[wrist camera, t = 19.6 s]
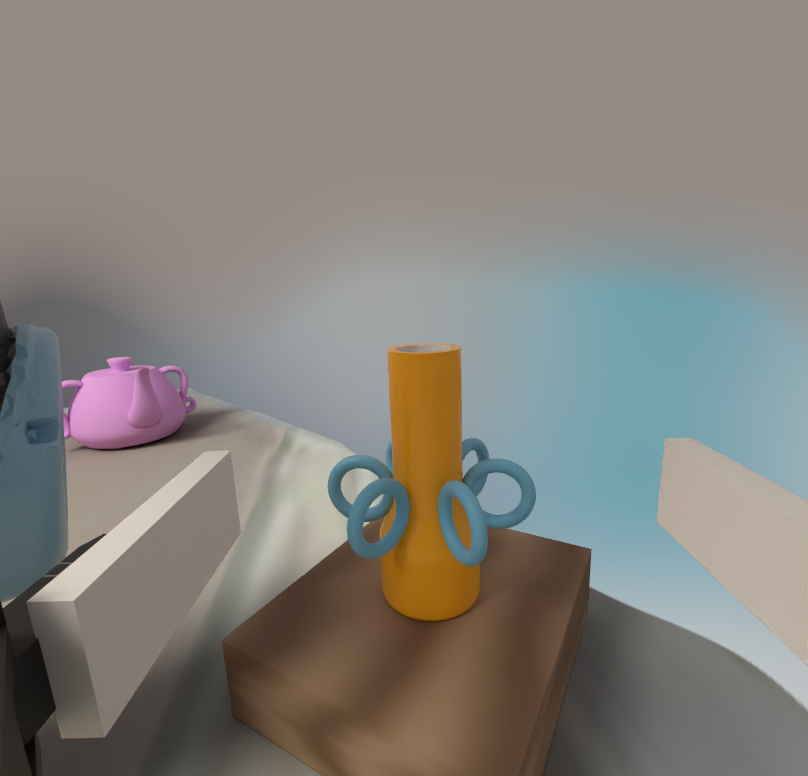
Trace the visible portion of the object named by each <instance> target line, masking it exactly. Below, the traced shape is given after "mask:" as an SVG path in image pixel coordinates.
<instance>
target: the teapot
mask: <svg viewBox="0 0 808 776" xmlns="http://www.w3.org/2000/svg"><path fill="white" fill-rule="evenodd" d="M107 362H108V364H109V365H110V367H111V368H110V369H104V370H98V371H93V372H90V373H87V374H86V375H85V376H84V377H83V379H82V380H81V381H77V380H66V381H63V382H62V389H64V388H67V387H77V389H76V391H75V394H74V396H73V398H72V400H71V403H70V406H69V410H68V418H67V416H66V415H65V413H64V412H63V417H64V437H65V439H67V438H69V437H70V436H71V437H72V438H73V439H75V440H76V441H78V442H79V443H81V444H83V445H84V446H86V447H89V448H95V449H120V448H123V447H128V446H134V445H139V444H144V443H148V442H152V441H155V440H158V439H161V438H164V437H166V436H169V435H171V434H173V433H174V432H175V431H177V429H178V428H179V427H180V425H181V424H182V422H183V421H184V419H185V417H186V413H189V412H192V411H193V410H194V409H195V408H196V402H195V400H194V399H193V398H192V397H187V398H186V394H187V388H188V378H187V374H186V373H185V372H184V370H182V369H181V368H179V367H176V366H165V367H162V368H160V369H159V370H158V369H157V368H155V367H154V366H130V365H131V358H130V357H117V358H111V359H108V360H107ZM171 371H172V372H177V373H178V374H179V375H180V380H181V386H180V393H178V391H177V390H176V388H175V387H174V386H173V385H172V384H171V382H170V381H169V380H168V379H167V378H166V377H165V376H164V375H163V374H164V373H167V372H171ZM187 401H190V402H191V404H190V406H189V407H186V405H185V402H187Z"/></svg>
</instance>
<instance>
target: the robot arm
mask: <svg viewBox="0 0 808 776" xmlns="http://www.w3.org/2000/svg"><path fill="white" fill-rule="evenodd" d="M657 523H658V524H660V525H661V526H662V527H663V528H664V529H665V530H666V531H667V532H668V533H669V534H670V535H671V536H672V537H673V538H674V539H675V540H676V541H677V542H678V543H679V544H681V545H682V546H683V547H684V548H685V549H686V550H687V551H688V552H689V553H690V554H691V555H692V556H693V557H694V558H695V559H696V560H697V561H698V562H699V563H700V564H701V565H702V566H704V567H705V568H706V569H707V570H708V571H709V572H710V573H711V574H712V575H713V576H714V577H715V578H716V579H717V580H718V581H719V582H720V583H721V584H722V585H724V587H726V588H727V589H728V590H729V591H730V592H731V593H732V594H733V595H734V596H735V597H736V598H737V599H738V600H739V601H740V602H741V603H742V604H743V605H744V606H745V607H747V608H748V609H749V610H750V611H751V612H752V613H753V614H754V615H755V616H756V617H757V618H758V619H759V620H760V621H761V622H762V623H763V624H764V625H765V626H766V627H767V628H768V629H770V630H771V631H772V632H773V633H774V634H775V635H776V636H777V637H778V638H779V639H780V640H781V641H782V642H783V643H784V644H785V645H786V646H787V647H789V649H791V650H792V651H793V652H794V653H795V654H796V655H797V656H798V657H799V658H800V659H801V660H802V661H803V662H804V663H805V664H807V666H808V501H806V500H804V499H802V498H801V497H799V496H797V495H795V494H793V493H792V492H790V491H788V490H786V489H784V488H782V487H780V486H779V485H777V484H775V483H773V482H771V481H770V480H768V479H766V478H764V477H762V476H760V475H759V474H757V473H755V472H753V471H751V470H749V469H747V468H745V467H744V466H742V465H740V464H738V463H736V462H735V461H733V460H731V459H729V458H727V457H725V456H724V455H722V454H720V453H718V452H716V451H714V450H713V449H711V448H709V447H707V446H705V445H703V444H701V443H700V442H698V441H696V440H694V439H692V438H666V439H665V446H664V456H663V466H662V474H661V484H660V493H659V503H658V512H657ZM240 533H241V530H240V522H239V514H238V506H237V498H236V490H235V482H234V474H233V467H232V459H231V451H205V452H204V453H203V454H202V455H201V456H199V457H198V458H197V459H196V460H195V461H193V462H192V463H191V464H190V465H189V466H188V467H186V468H185V469H184V470H183V471H182V472H180V473H179V474H178V475H177V476H176V477H174V478H173V479H172V480H171V481H170V482H168V483H167V484H166V485H165V486H164V487H163V488H161V489H160V490H159V491H158V492H157V493H155V494H154V495H153V496H152V497H151V498H149V499H148V500H147V501H146V502H145V503H143V504H142V505H141V506H140V507H139V508H138V509H136V510H135V511H134V512H133V513H132V514H130V515H129V516H128V517H127V518H126V519H124V520H123V521H122V522H121V523H120V524H118V525H117V526H116V527H115V528H114V529H113V530H111V531H110V532H109V533H108V534H103V535H101V536H99V537H97V538H95V539H93V540H91V541H89V542H88V543H86V544H84V545H82V546H80V547H79V548H77V549H76V550H75V551H74V552H72V553H71V554H70V555H69V556H67V557H66V554H67V550H68V506H67V479H66V456H65V437H64V417H63V396H62V380H61V365H60V355H59V342H58V337H57V335H56V334H55V332H53V331H52V330H50V329H48V328H44V327H34V326H33V325H31V324H29V323H18V324H17V326H15V327H12V328H10V327H9V325H8V324H7V322H6V319H5V315H4V312H3V309H2V305H1V302H0V776H42V767H41V749H40V745H39V741H38V737H37V734H36V733H37V731H38V730H39V729H40V728H41V727H42V725H43V724H44V723H45V722H46V721H47V719H48V718H49V717H50V716H51V714H52V713H53V712H55V716H56V720H57V724H58V727H59V731H60V735H61V739H67V738H105V737H106V735H107V734H108V732H109V731H110V729H111V728H112V726H113V725H114V723H115V722H116V720H117V719H118V717H119V716H120V714H121V713H122V711H123V710H124V708H125V707H126V705H127V704H128V702H129V701H130V699H131V698H132V696H133V695H134V693H135V691H136V690H137V688H138V687H139V685H140V684H141V682H142V681H143V679H144V678H145V676H146V675H147V673H148V672H149V670H150V669H151V667H152V666H153V664H154V663H155V661H156V660H157V658H158V657H159V655H160V654H161V652H162V651H163V649H164V648H165V646H166V645H167V643H168V642H169V640H170V639H171V637H172V636H173V634H174V633H175V631H176V630H177V628H178V627H179V625H180V624H181V622H182V621H183V619H184V618H185V616H186V614H187V613H188V611H189V610H190V608H191V607H192V605H193V604H194V602H195V601H196V599H197V598H198V596H199V595H200V593H201V592H202V590H203V589H204V587H205V586H206V584H207V583H208V581H209V580H210V578H211V577H212V575H213V574H214V572H215V571H216V569H217V568H218V566H219V565H220V563H221V562H222V560H223V559H224V557H225V556H226V554H227V553H228V551H229V550H230V548H231V547H232V545H233V544H234V542H235V541H236V539H237V537H238V536H239V534H240ZM65 557H66V558H65ZM16 597H17V598H16ZM13 598H15V599H14V600H13V601H12V602H10V603H9V604H8V605H7V606H6V607H4V608H2V605H1V603H2V602H5V601H8V600H11V599H13Z"/></svg>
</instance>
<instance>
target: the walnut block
mask: <svg viewBox="0 0 808 776" xmlns="http://www.w3.org/2000/svg"><path fill="white" fill-rule="evenodd" d="M386 515H387V514H386ZM386 515H385V516H386ZM385 516H383V517H382V518H380V519H378V520H375V521H371V522H370V523H368V524H367V525H366V526H365V527H363V536H364V538H365V540H366V541H367V542H368V543H376V542H378V541H380V528H381V525H382V523H383V520H384V518H385ZM487 532H488V546H487V552H486V555H485V557H484V559H483V560H482V562H481V563H480V591H479V595H478V598H477V599H476V601H475V603H474V604H473V605H472V607H471V608H470V609H469V610H467V611H466V612H465V613H463V614H461V615H459V616H457V617H455V618H451V619H448V620H442V621H421V620H415V619H412V618H409V617H406V616H404V615H402V614H400V613H398V612H397V611H396V610H394V609H393V608H392V607H391V606H390V605H389V603H388V602H387V600H386V598H385V596H384V594H383V588H382V573H381V557H379V558H376V559H365V558H362V557H360V556H359V555H357V554H356V553H355V552H354V551H353V549H352V548H351V546H350V543H349V540H347V541H346V542H345V543H343V544H342V545H341V546H340V547H338V548H337V549H336V550H335V551H333V552H332V553H331V554H330V555H328V556H327V557H326V558H324V559H323V560H322V561H321V562H319V563H318V564H317V565H316V566H314V567H313V568H312V569H311V570H309V571H308V572H307V573H306V574H304V575H303V576H302V577H301V578H299V579H298V580H297V581H296V582H294V583H293V584H292V585H291V586H289V587H288V588H287V589H286V590H284V591H283V592H282V593H280V594H279V595H278V596H277V597H275V598H274V599H273V600H272V601H270V602H269V603H268V604H267V605H265V606H264V607H263V608H262V609H260V610H259V611H258V612H257V613H255V614H254V615H253V616H252V617H250V618H249V619H248V620H247V621H245V622H244V623H243V624H242V625H240V626H239V627H238V628H236V629H235V630H234V631H233V632H231V633H230V634H229V635H228V636H226V637H225V638H224V639H223V640H222V645H223V652H224V659H225V666H226V672H227V679H228V686H229V693H230V699H231V706H232V713H233V716H234V717H236V718H237V719H239V720H240V721H242V722H243V723H245V724H246V725H248V726H249V727H251V728H252V729H254V730H255V731H257V732H258V733H260V734H261V735H263V736H264V737H266V738H267V739H269V740H270V741H272V742H273V743H275V744H276V745H278V746H279V747H281V748H282V749H284V750H285V751H287V752H288V753H290V754H291V755H293V756H294V757H296V758H297V759H299V760H300V761H302V762H303V763H305V764H306V765H308V766H309V767H311V768H312V769H314V770H315V771H317V772H318V773H320V774H321V775H323V776H543V773H544V770H545V766H546V762H547V759H548V755H549V751H550V748H551V744H552V740H553V737H554V733H555V729H556V726H557V722H558V718H559V715H560V711H561V707H562V704H563V700H564V696H565V693H566V689H567V685H568V682H569V678H570V674H571V671H572V667H573V663H574V660H575V656H576V652H577V649H578V645H579V641H580V638H581V634H582V630H583V627H584V623H585V619H586V616H587V612H588V597H589V579H590V563H591V549H589V548H585V547H580V546H576V545H572V544H568V543H564V542H560V541H555V540H552V539H547V538H543V537H539V536H535V535H531V534H527V533H523V532H519V531H514V530H510V529H506V528H504V529H495V528H489V527H487Z"/></svg>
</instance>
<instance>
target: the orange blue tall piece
mask: <svg viewBox="0 0 808 776" xmlns="http://www.w3.org/2000/svg"><path fill="white" fill-rule="evenodd" d="M387 352H388V374H389V394H390V417H391V439H390V440H389V442H388V444H387V448H386V466H385V465H384V464H383V463H382V462H380V461H379V460H377V459H375V458H373V457H370V456H365V455H354V456H350V457H347V458H345V459H343V460H341V461H340V462H339V463H338V464H337V465H336V466H335V467H334V468H333V470H332V471H331V473H330V476H329V480H328V492H329V496H330V499H331V501H332V503H333V504H334V506H335V507H336V509H337V510H338V511H339V512H340V513H342V514H343V515H344V516H346V517H348V524H347V535H348V540H349V543H350V546H351V548H352V549H353V551H354V552H355V553H356V554H357V555H359V556H360V557H362V558H365V559H376V558H379V557H381V573H382V588H383V594H384V596H385V598H386V600H387V602H388V603H389V605H390V606H391V607H392V608H393V609H394V610H396V611H397V612H398V613H400V614H402V615H404V616H406V617H409V618H412V619H415V620H421V621H442V620H448V619H451V618H455V617H457V616H459V615H461V614H463V613H465V612H466V611H467V610H469V609H470V608H471V607H472V605H473V604H474V603H475V601H476V599H477V598H478V595H479V591H480V563H481V562H482V560H483V559H484V557H485V555H486V552H487V546H488V532H487V527H489V528H495V529H504V528H509V527H513V526H515V525H517V524H519V523H521V522H522V521H523V520H525V519H526V518H527V517H528V515H529V514H530V513H531V511H532V509H533V507H534V504H535V500H536V490H535V486H534V483H533V481H532V479H531V477H530V475H529V474H528V473H527V472H526V471H525V470H524V469H523V468H522V467H521V466H519V465H518V464H516V463H514V462H512V461H509V460H505V459H489V454H488V450H487V448H486V446H485V444H484V443H483V442H482V441H481V440H479V439H476V438H469V439H466V440H464V441H463V442H462V403H461V347H460V346H458V345H452V344H411V345H401V346H395V347H391V348H389V349H387ZM471 450H475V452H476V453H477V457H478V463H477V464H476V465H474V466H473V467H472V468H470V469H469V470H468V472H467V473H466V474H465V476H464V478H462V476H463V475H462V474H463V473H462V461H463V459H464V458H465V456H466V455H467V453H468V452H470V451H471ZM356 468H363V469H367V470H370V471H372V472H373V473H375V474H376V475H377V476H378V477H379V478H380V479H378V480H376V481H374V482H372V483H370V484H369V485H368V486H366V487H365V488H364V489H363V490H362V491H361V493H360V494H359V495H358V497H357V498H356V500H355V502H354V504H353V505H351V504H350V503H349V502H348V501H347V500H346V499H345V498H344V496H343V494H342V491H341V480H342V478H343V476H344V475H345V474H346V473H347V472H348V471H350V470H352V469H356ZM494 472H500V473H505V474H507V475H509V476H511V477H513V478H514V479H515V480H516V481H517V482H518V483H519V485H520V488H521V491H522V497H521V501H520V503H519V505H518V506H517V507H516V508H515V509H514V510H513V511H511V512H510V513H507V514H503V515H493V514H490V513H487V512H485V511H483V510H482V508H481V506H480V504H479V501H478V500H477V498H476V496H477V495H478V494H479V493H480V492H481V490H482V488H483V487H484V484H485V482H486V479H487V475H488V474H489V473H494ZM381 494H384V495H383V498H382V500H381V502H380V503H379V504H378V505H376V506H375V507H373V508H369V507H370V505H371V504H372V502H373V501H374V500H375V499H376V498H377V497H378V496H380V495H381ZM368 508H369V509H368ZM386 514H387V515H386ZM385 515H386V516H385ZM383 516H385V518H384V520H383V523H382V525H381V528H380V541H378V542H376V543H368V542H367V541H366V540H365V538H364V536H363V522H370V521H375V520H378V519H380V518H382V517H383Z"/></svg>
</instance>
